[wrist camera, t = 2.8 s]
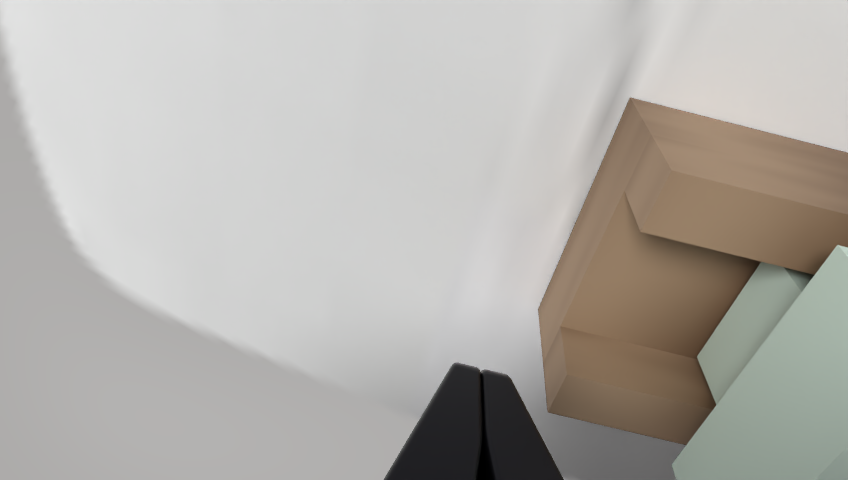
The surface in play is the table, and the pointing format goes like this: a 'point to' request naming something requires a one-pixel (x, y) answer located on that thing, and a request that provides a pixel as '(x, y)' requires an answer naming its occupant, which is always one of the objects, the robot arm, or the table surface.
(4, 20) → the table surface
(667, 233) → the beam
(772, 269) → the block
